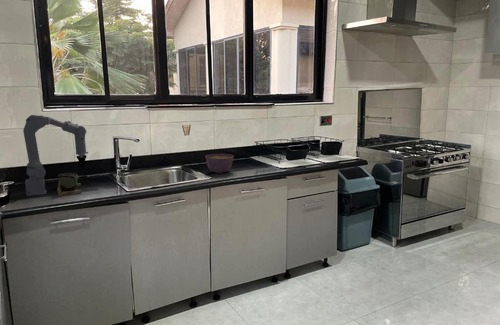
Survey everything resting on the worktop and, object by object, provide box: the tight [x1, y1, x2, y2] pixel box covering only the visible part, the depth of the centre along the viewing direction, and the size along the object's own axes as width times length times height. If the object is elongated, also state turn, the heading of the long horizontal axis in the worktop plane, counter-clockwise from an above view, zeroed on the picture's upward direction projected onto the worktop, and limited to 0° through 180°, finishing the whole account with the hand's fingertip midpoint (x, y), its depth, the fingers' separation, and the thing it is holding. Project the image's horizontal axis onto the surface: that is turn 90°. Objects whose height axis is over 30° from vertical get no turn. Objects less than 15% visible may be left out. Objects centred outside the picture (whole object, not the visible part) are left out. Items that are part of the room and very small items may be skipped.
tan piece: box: [56, 180, 82, 198], centre depth 217 cm, size 12×24×4 cm, turn 25°
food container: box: [57, 172, 79, 192], centre depth 216 cm, size 12×6×10 cm, turn 72°
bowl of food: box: [204, 153, 235, 174], centre depth 263 cm, size 20×20×12 cm
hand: (82, 167), depth 231 cm, fingers closed
